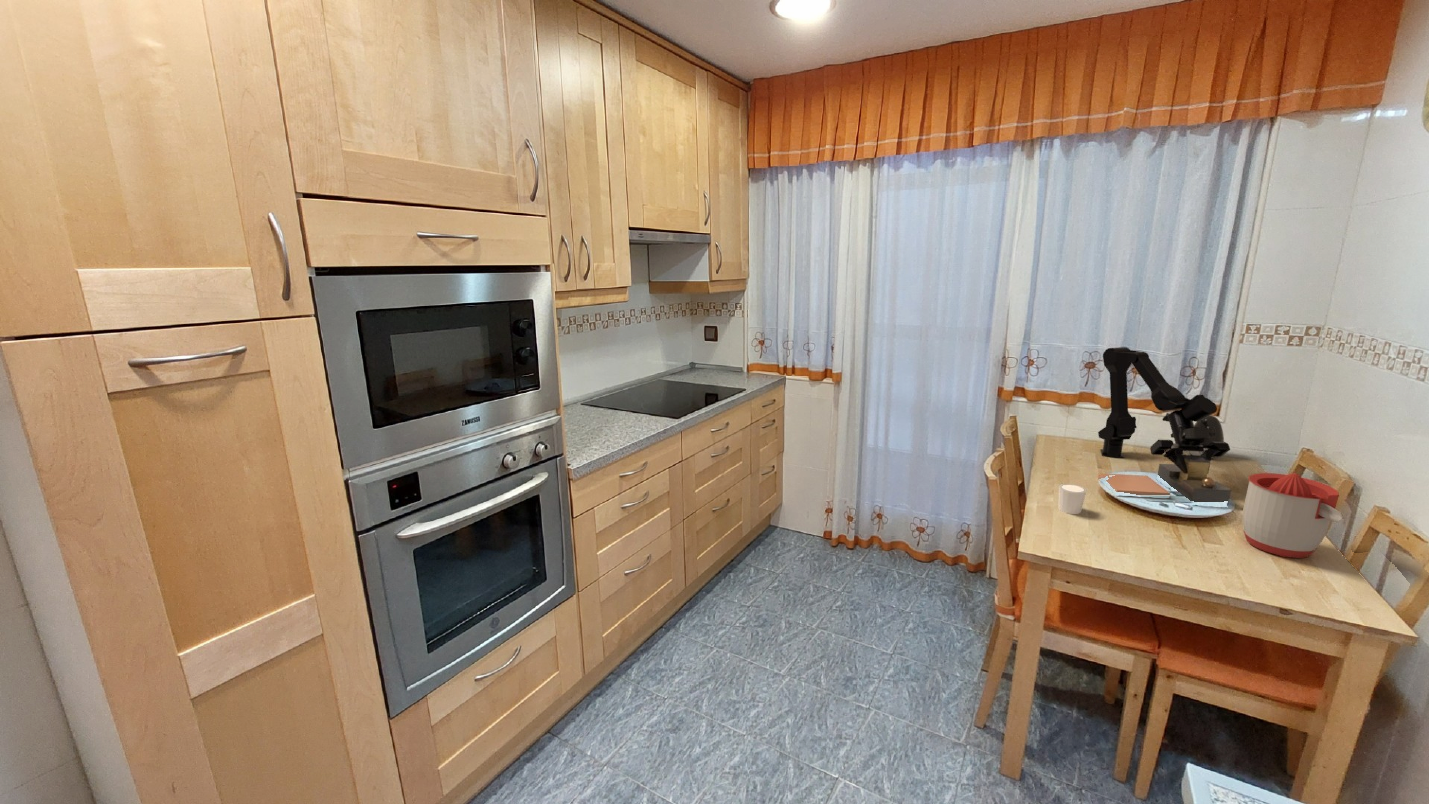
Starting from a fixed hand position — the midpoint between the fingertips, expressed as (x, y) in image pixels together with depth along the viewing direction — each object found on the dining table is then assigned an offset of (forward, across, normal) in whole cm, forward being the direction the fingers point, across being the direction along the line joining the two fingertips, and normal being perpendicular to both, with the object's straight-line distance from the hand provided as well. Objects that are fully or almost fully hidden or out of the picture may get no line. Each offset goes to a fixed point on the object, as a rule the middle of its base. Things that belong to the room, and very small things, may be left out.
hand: (1196, 473), depth 171 cm
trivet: (+3, -15, +6) cm, 17 cm away
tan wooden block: (+1, 0, +3) cm, 4 cm away
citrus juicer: (+28, +3, -18) cm, 34 cm away
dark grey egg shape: (-21, +21, +31) cm, 43 cm away
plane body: (+4, 0, +6) cm, 7 cm away
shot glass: (+17, -39, -7) cm, 43 cm away
